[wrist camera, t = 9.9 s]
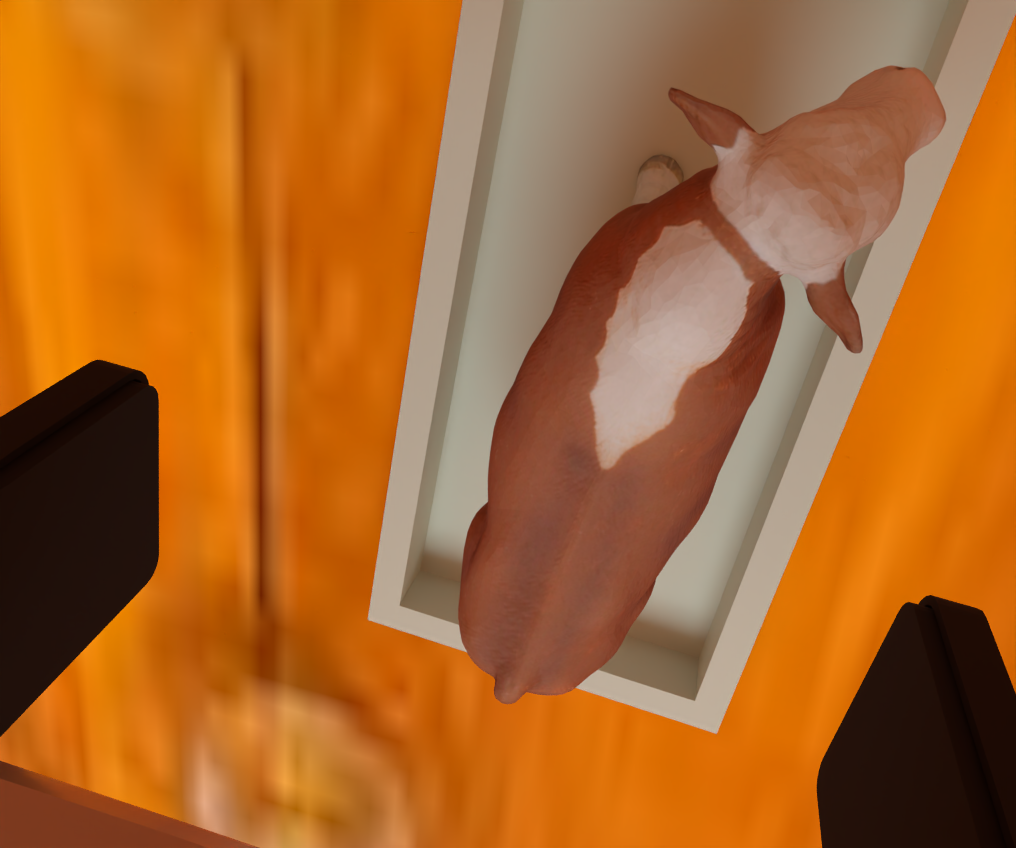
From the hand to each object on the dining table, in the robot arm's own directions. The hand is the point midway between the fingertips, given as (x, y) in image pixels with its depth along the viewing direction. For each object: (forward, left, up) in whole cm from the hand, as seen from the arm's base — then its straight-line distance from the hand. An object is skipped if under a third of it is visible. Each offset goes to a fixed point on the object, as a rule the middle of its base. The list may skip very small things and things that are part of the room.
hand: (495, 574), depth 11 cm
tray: (+1, +1, -12) cm, 12 cm away
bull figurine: (0, +1, -11) cm, 11 cm away
